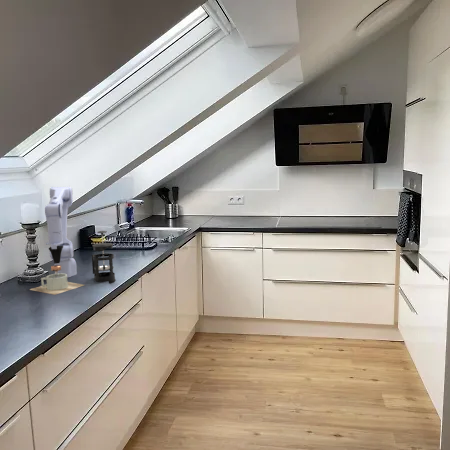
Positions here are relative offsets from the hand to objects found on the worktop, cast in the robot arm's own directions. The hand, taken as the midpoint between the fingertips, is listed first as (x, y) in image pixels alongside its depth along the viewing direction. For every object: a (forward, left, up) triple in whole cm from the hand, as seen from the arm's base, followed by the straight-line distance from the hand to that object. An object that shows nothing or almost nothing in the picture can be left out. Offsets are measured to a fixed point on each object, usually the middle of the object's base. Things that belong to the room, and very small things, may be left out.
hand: (57, 263), depth 204 cm
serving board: (+3, +3, -10) cm, 12 cm away
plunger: (+3, +3, -6) cm, 8 cm away
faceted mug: (+3, +3, -9) cm, 11 cm away
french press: (-16, +11, -11) cm, 22 cm away
